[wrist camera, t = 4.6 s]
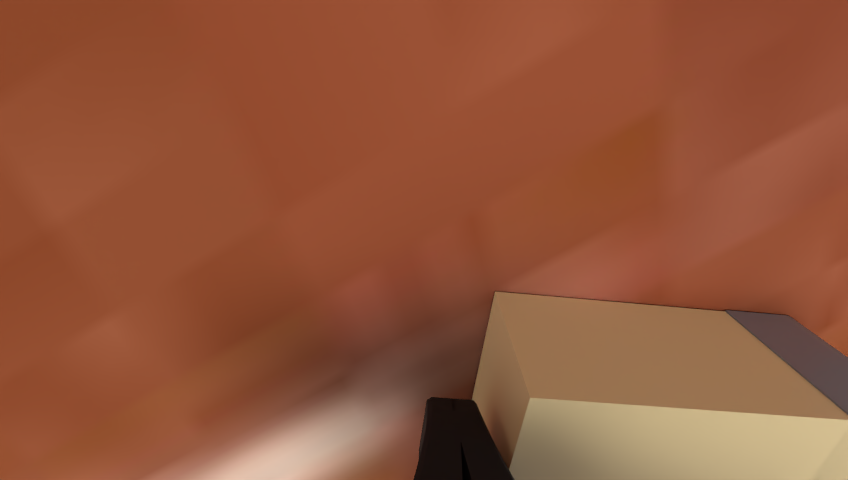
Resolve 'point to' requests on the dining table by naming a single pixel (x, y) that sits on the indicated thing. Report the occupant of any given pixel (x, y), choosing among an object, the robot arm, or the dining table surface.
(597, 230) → the dining table surface
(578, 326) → the block
